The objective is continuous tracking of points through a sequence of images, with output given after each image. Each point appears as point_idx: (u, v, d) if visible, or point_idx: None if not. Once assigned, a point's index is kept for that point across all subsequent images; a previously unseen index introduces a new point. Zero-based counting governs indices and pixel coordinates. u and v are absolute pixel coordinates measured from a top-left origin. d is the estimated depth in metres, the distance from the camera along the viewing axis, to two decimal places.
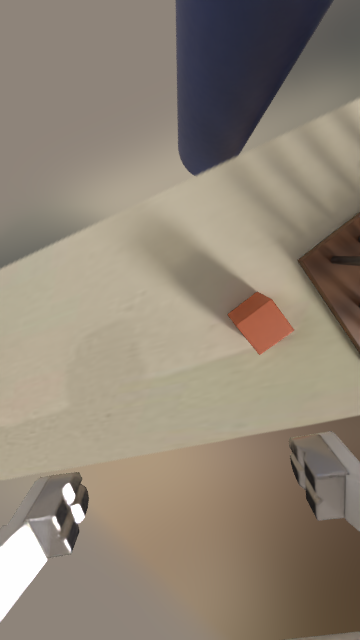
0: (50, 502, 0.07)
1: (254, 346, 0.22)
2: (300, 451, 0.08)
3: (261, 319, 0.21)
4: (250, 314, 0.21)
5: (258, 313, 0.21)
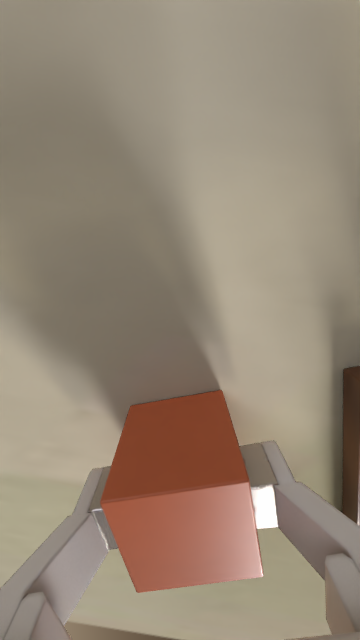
0: None
1: (131, 570, 0.07)
2: None
3: (188, 518, 0.06)
4: (162, 492, 0.06)
5: (188, 500, 0.06)
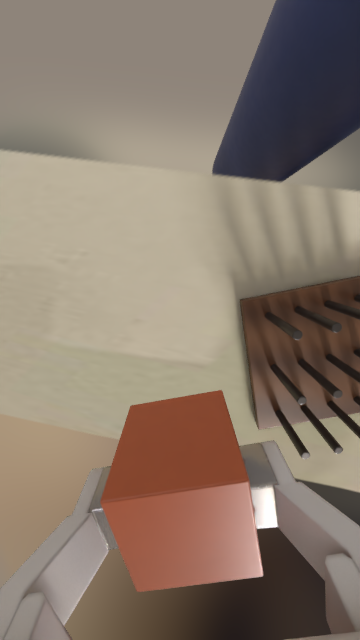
0: None
1: (132, 570, 0.07)
2: None
3: (188, 518, 0.06)
4: (162, 492, 0.06)
5: (187, 500, 0.06)
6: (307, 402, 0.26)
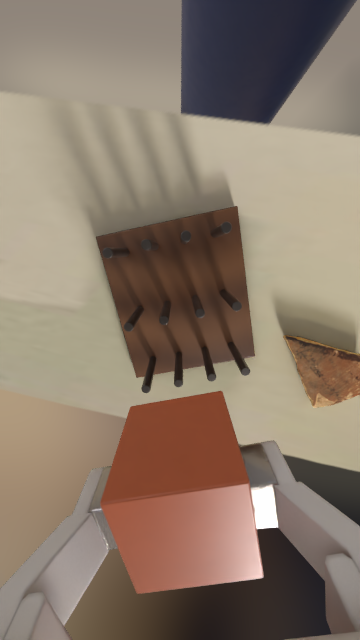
0: None
1: (132, 571, 0.07)
2: None
3: (188, 519, 0.06)
4: (162, 493, 0.06)
5: (187, 501, 0.06)
6: (181, 348, 0.26)
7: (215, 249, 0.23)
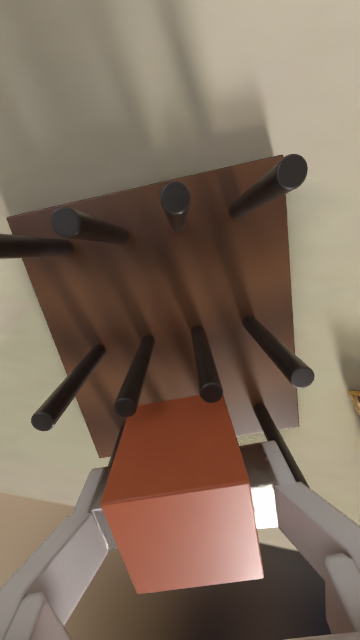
0: None
1: (132, 572, 0.07)
2: None
3: (188, 519, 0.06)
4: (162, 494, 0.06)
5: (188, 502, 0.06)
6: None
7: (237, 242, 0.12)
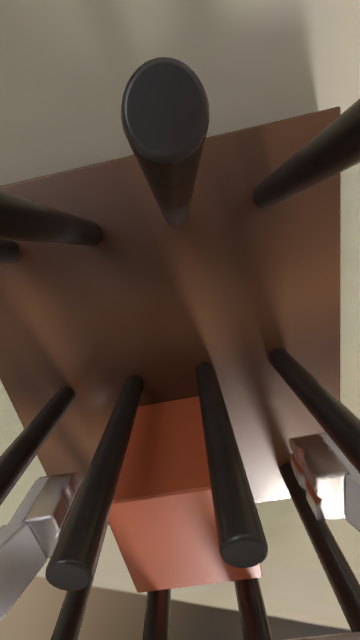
0: (50, 502, 0.07)
1: (132, 570, 0.07)
2: (300, 451, 0.08)
3: (188, 519, 0.06)
4: (162, 494, 0.06)
5: (187, 502, 0.06)
6: None
7: (264, 243, 0.08)
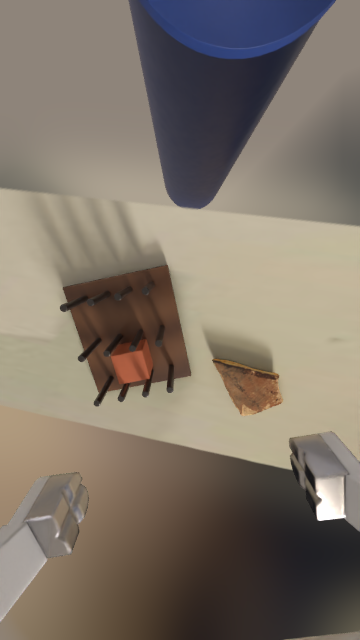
0: (50, 502, 0.07)
1: (118, 376, 0.29)
2: (300, 451, 0.08)
3: (130, 360, 0.28)
4: (124, 353, 0.28)
5: (129, 355, 0.28)
6: None
7: (153, 296, 0.30)
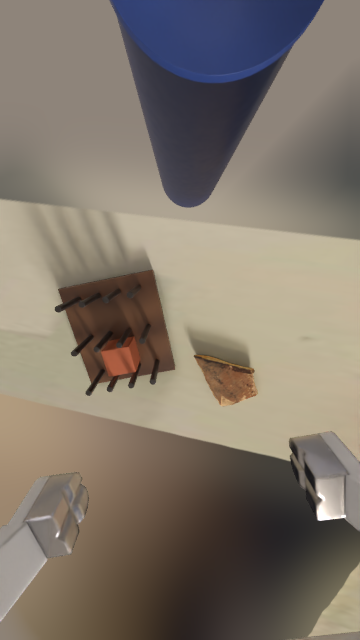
0: (50, 502, 0.07)
1: (107, 369, 0.32)
2: (300, 451, 0.08)
3: (118, 355, 0.32)
4: (112, 349, 0.31)
5: (117, 351, 0.31)
6: None
7: (140, 297, 0.33)
